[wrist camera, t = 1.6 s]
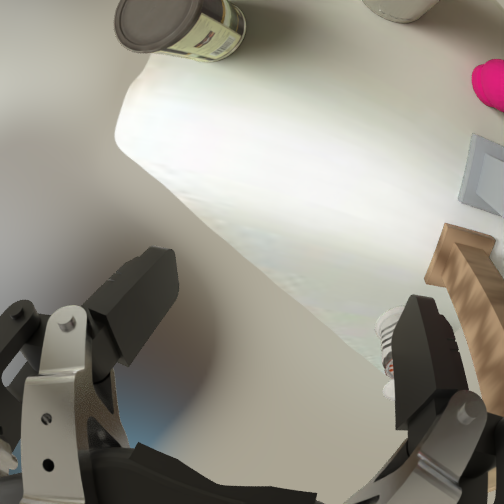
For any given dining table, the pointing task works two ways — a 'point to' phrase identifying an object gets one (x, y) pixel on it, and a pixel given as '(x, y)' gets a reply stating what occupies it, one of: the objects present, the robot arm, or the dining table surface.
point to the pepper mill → (490, 83)
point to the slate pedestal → (484, 176)
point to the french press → (388, 345)
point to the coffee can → (180, 28)
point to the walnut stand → (475, 303)
